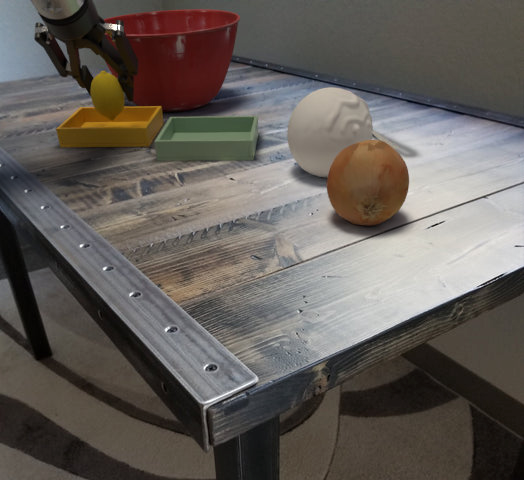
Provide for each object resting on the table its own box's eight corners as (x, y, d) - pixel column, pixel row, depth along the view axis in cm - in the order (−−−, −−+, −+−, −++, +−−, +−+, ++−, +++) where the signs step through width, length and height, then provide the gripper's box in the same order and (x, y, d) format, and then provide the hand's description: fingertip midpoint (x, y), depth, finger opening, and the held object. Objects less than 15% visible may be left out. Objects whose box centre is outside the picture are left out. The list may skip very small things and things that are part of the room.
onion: (390, 203, 77) (399, 125, 71) (415, 236, 69) (427, 152, 63) (318, 208, 76) (321, 130, 70) (335, 242, 68) (339, 157, 62)
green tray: (157, 163, 92) (154, 141, 89) (172, 137, 102) (169, 116, 100) (253, 162, 91) (252, 140, 89) (258, 136, 101) (257, 115, 99)
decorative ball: (335, 197, 79) (340, 105, 72) (270, 177, 86) (269, 91, 78) (385, 172, 86) (393, 86, 79) (321, 155, 92) (324, 74, 85)
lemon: (134, 120, 101) (126, 70, 96) (105, 127, 98) (96, 75, 93) (117, 114, 104) (109, 65, 100) (90, 120, 101) (80, 71, 97)
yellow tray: (60, 150, 98) (55, 128, 96) (84, 126, 109) (80, 107, 107) (149, 149, 97) (146, 127, 95) (164, 125, 108) (161, 106, 106)
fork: (401, 159, 90) (402, 148, 89) (330, 119, 108) (331, 109, 107) (418, 156, 91) (420, 145, 90) (346, 117, 109) (346, 107, 108)
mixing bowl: (122, 134, 104) (106, 37, 95) (92, 98, 125) (76, 16, 116) (265, 112, 113) (263, 22, 104) (214, 82, 134) (209, 4, 125)
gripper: (-7, 24, 79) (61, 115, 102) (126, 21, 78) (165, 114, 101) (-3, -25, 80) (64, 76, 103) (128, -30, 79) (166, 74, 102)
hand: (114, 94), depth 102 cm, fingers closed on lemon, 5 cm apart
